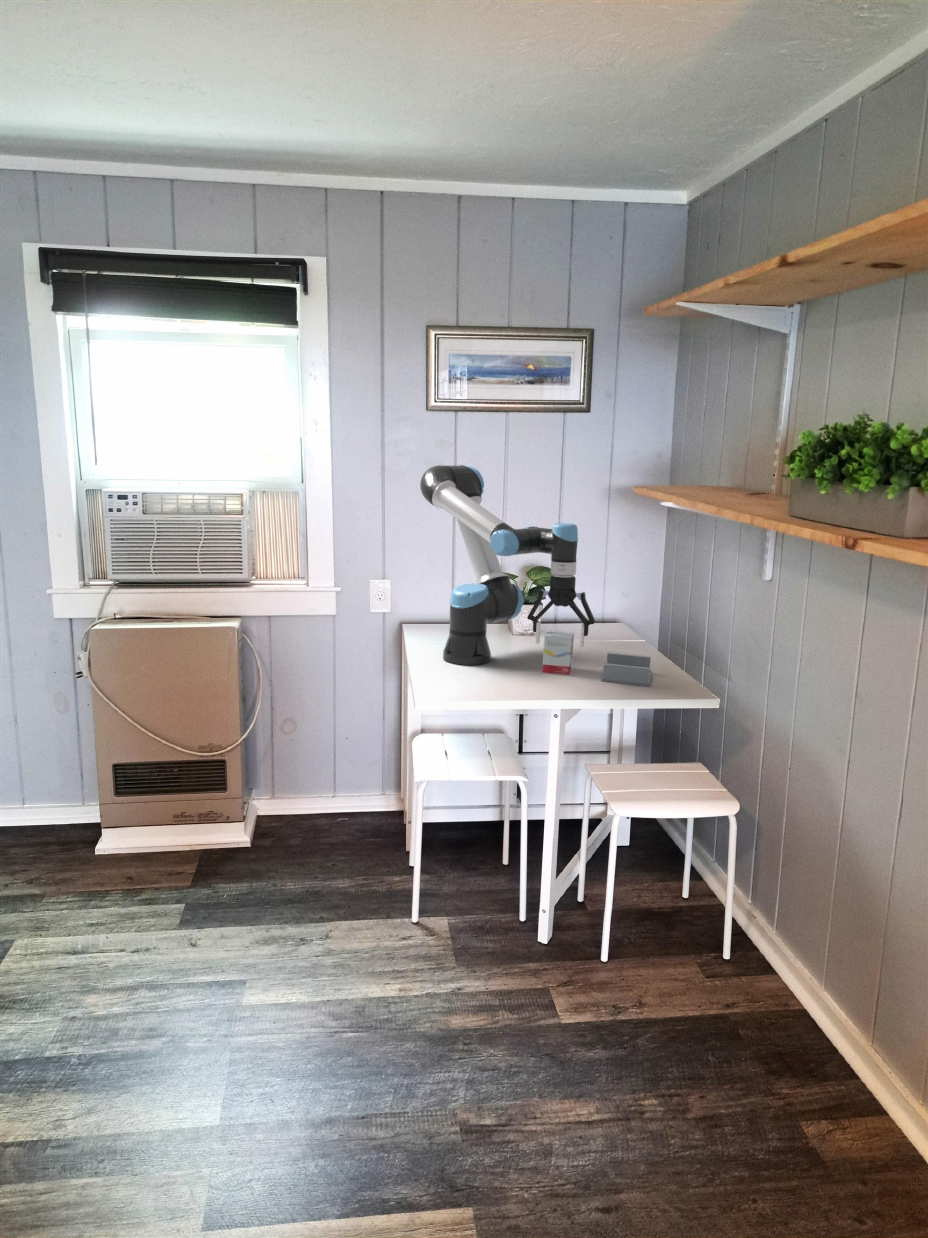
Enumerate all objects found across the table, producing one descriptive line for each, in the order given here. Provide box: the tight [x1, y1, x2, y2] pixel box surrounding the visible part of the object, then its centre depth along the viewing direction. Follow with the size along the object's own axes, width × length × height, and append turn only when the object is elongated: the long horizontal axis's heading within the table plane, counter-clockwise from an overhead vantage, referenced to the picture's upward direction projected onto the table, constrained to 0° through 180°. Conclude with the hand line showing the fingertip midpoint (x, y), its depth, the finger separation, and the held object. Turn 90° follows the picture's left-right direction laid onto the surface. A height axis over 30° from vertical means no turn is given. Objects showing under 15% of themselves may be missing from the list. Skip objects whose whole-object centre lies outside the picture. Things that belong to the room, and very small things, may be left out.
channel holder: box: [600, 652, 652, 687], centre depth 252 cm, size 14×15×5 cm
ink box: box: [541, 629, 575, 676], centre depth 256 cm, size 9×9×12 cm
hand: (559, 644), depth 256 cm, fingers open, 13 cm apart
